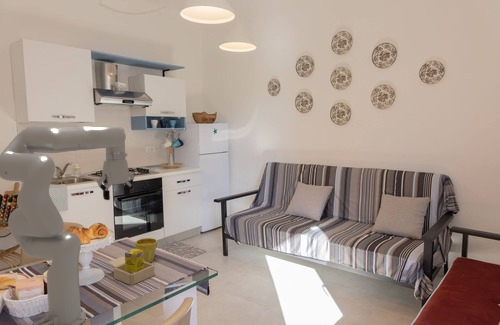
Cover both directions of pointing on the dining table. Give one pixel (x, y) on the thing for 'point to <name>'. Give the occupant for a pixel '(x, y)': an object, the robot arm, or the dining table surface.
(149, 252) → the plant pot
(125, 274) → the carton
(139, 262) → the supplement box
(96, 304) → the dining table surface
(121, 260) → the flap
